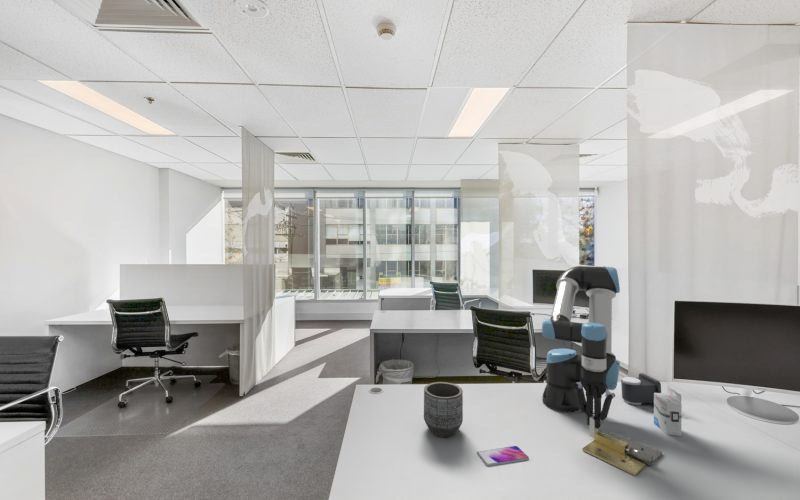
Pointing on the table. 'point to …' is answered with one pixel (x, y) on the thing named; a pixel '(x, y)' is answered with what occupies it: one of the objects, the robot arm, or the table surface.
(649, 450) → the gunmetal leaf
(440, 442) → the table surface
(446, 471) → the table surface
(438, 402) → the planter
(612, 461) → the brass leaf
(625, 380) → the light fixture
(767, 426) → the table surface
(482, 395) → the table surface
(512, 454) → the smartphone
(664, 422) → the ink box
